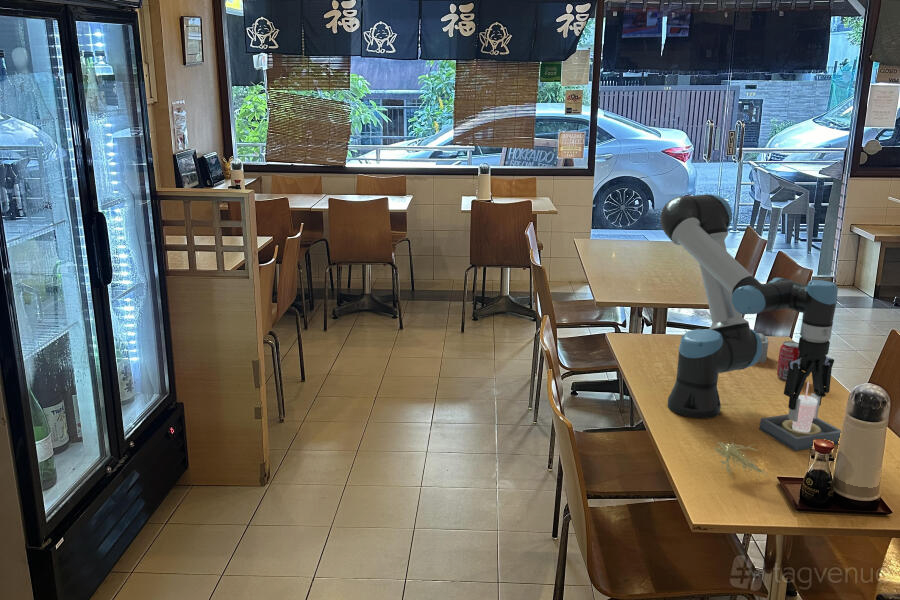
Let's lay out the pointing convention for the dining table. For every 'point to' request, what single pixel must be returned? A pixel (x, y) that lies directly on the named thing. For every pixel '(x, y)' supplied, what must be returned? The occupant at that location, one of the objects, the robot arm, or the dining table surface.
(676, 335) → the dining table surface
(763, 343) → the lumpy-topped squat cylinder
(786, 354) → the soda can
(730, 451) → the plant sprig
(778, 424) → the walled box
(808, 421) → the beverage cup
